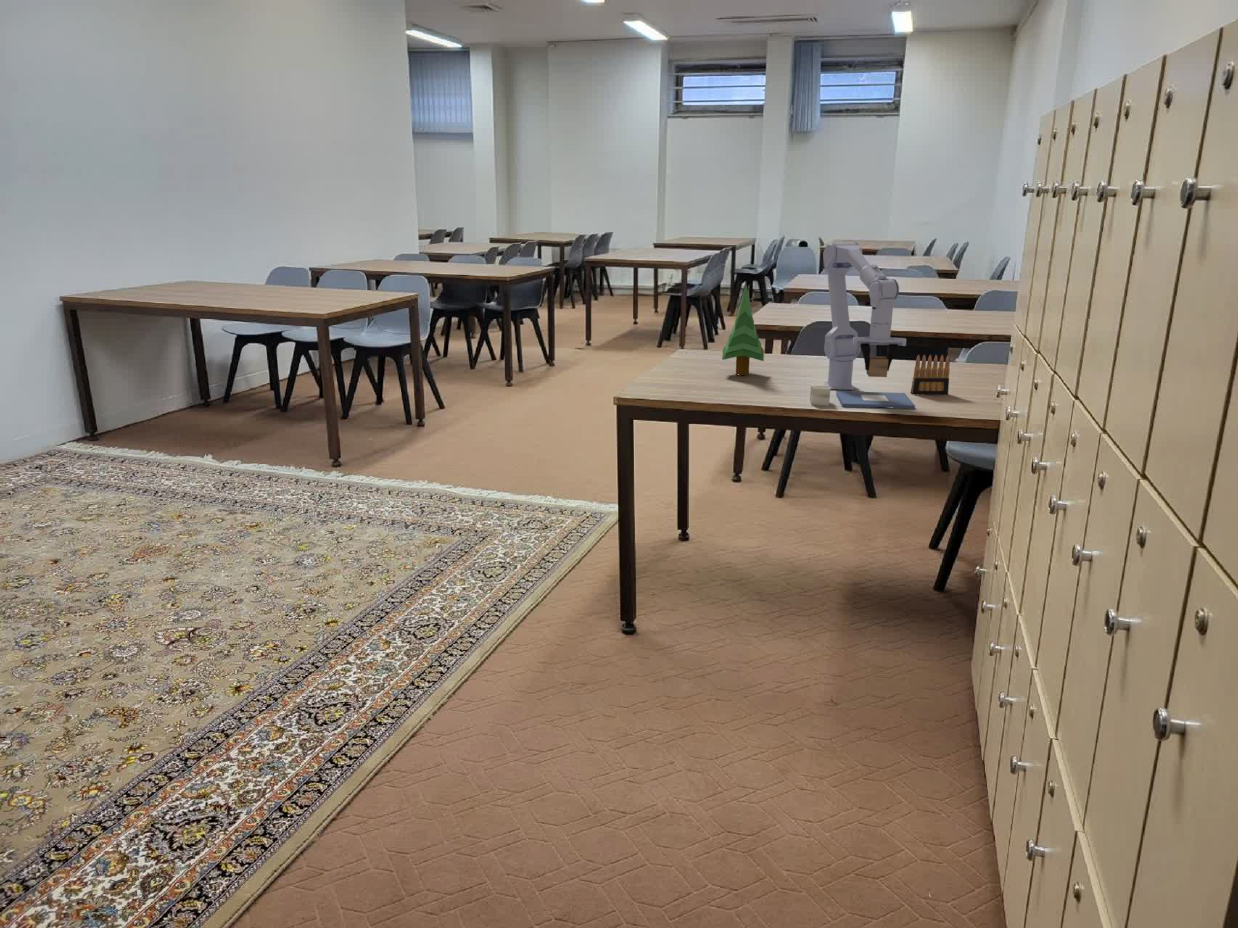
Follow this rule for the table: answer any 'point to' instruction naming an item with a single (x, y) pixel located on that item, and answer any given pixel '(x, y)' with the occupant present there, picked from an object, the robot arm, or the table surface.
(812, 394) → the off-white block
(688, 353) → the table surface
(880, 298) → the robot arm
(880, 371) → the walnut block
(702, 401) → the table surface
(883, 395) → the board
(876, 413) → the table surface
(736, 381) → the table surface
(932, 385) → the ammunition clip
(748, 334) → the decorative tree
